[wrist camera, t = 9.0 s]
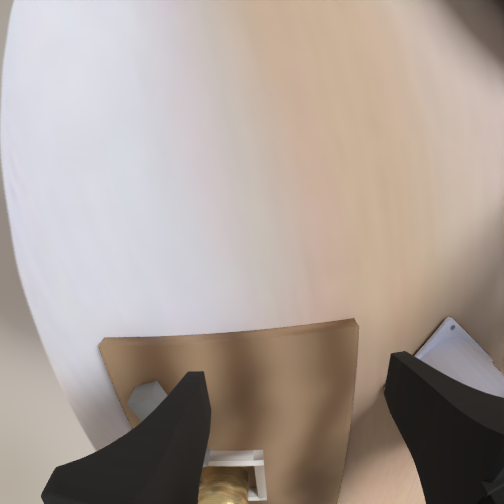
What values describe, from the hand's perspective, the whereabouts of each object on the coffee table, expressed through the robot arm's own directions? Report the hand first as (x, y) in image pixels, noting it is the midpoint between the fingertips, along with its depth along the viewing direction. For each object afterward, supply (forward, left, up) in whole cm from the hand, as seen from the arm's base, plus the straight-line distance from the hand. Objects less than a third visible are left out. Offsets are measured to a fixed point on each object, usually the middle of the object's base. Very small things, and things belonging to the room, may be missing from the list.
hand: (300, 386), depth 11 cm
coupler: (-7, +17, -8) cm, 20 cm away
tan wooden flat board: (-8, +15, -9) cm, 19 cm away
